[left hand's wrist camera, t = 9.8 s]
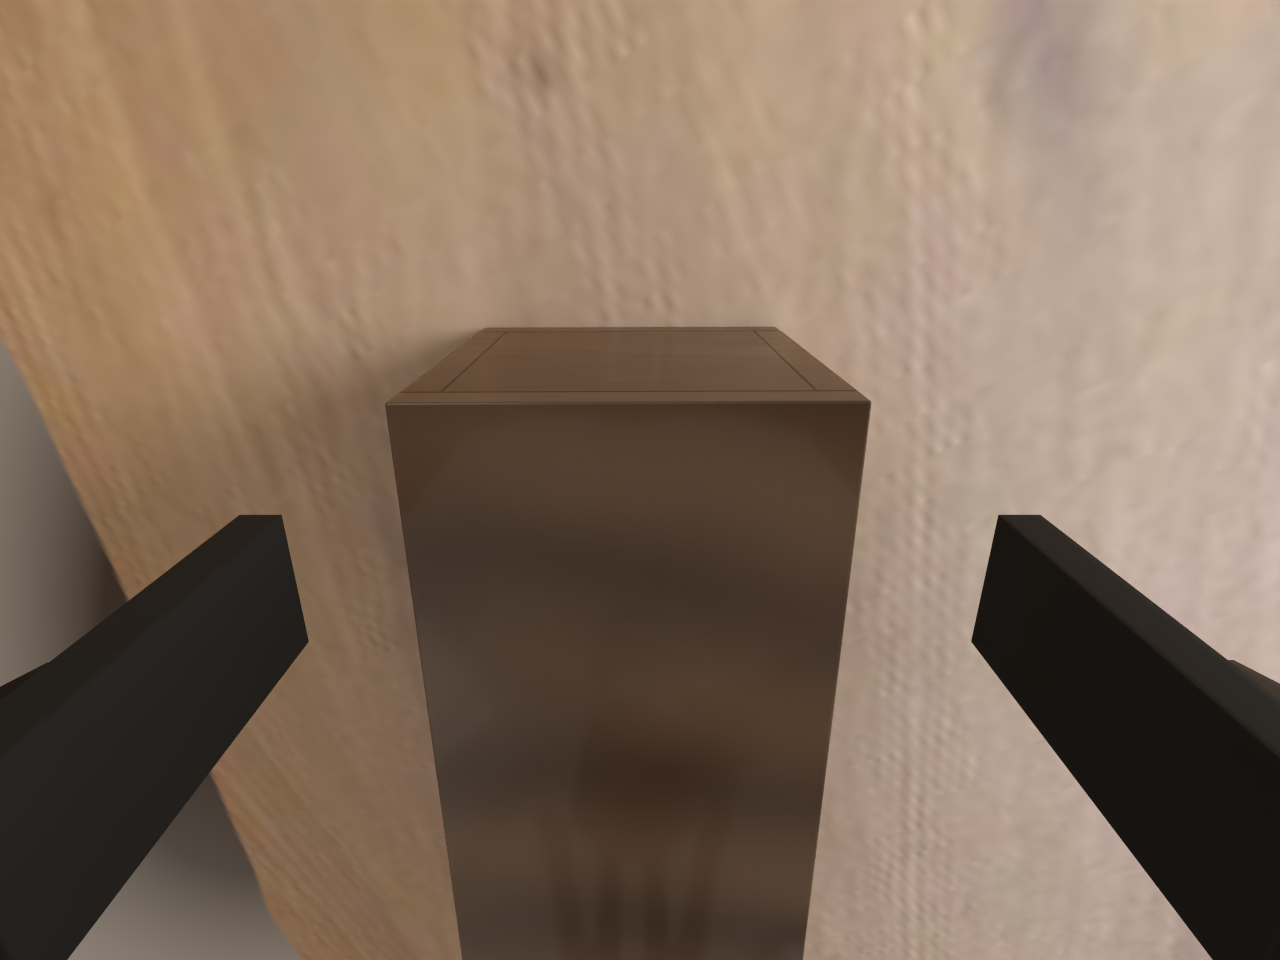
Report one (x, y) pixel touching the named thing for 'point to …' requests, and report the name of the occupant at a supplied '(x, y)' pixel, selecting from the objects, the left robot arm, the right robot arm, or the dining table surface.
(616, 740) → the cabinet
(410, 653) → the dining table surface
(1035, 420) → the dining table surface
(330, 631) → the dining table surface
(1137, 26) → the dining table surface
